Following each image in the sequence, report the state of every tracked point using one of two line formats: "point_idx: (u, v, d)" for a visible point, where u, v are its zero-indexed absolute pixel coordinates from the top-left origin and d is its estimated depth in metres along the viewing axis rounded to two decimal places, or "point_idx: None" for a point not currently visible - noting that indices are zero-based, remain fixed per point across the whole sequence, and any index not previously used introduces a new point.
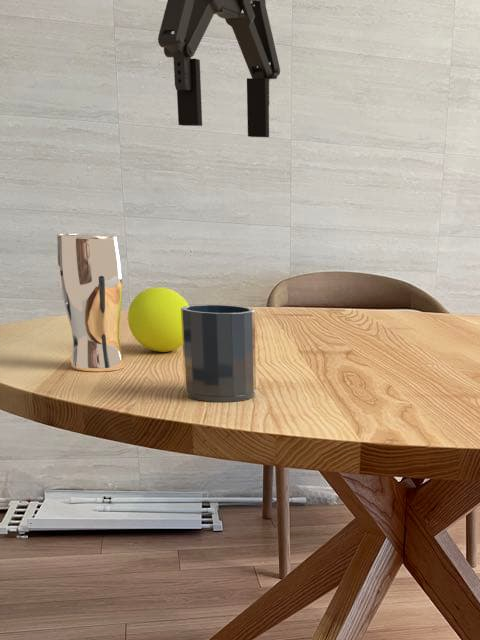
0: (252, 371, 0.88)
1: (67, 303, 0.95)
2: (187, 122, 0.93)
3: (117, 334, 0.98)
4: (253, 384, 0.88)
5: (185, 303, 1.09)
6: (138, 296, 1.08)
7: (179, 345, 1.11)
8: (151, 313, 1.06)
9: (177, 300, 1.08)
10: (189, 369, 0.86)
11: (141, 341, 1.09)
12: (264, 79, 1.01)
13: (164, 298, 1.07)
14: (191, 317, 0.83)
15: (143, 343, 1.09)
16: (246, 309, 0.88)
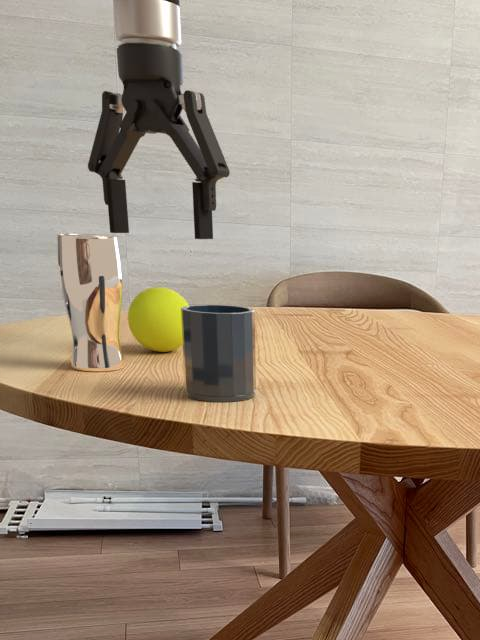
0: (252, 371, 0.88)
1: (67, 303, 0.95)
2: (205, 236, 1.03)
3: (117, 334, 0.98)
4: (253, 384, 0.88)
5: (185, 303, 1.09)
6: (138, 296, 1.08)
7: (179, 345, 1.11)
8: (151, 313, 1.06)
9: (177, 300, 1.08)
10: (189, 369, 0.86)
11: (141, 341, 1.09)
12: (124, 180, 1.07)
13: (164, 298, 1.07)
14: (191, 317, 0.83)
15: (143, 343, 1.09)
16: (246, 309, 0.88)
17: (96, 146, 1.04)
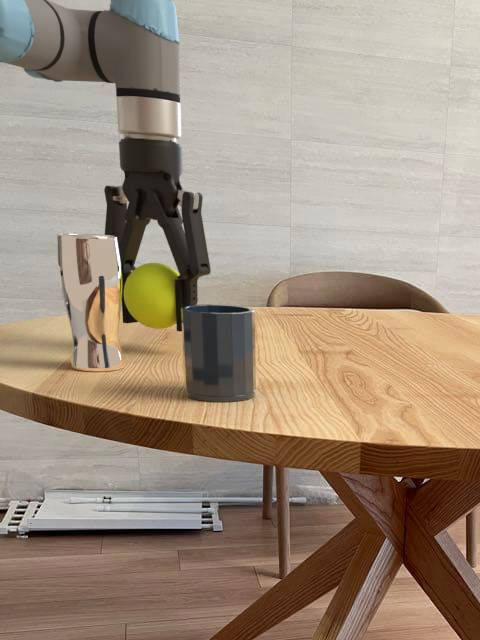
0: (252, 371, 0.88)
1: (67, 303, 0.95)
2: None
3: (117, 334, 0.98)
4: (253, 384, 0.88)
5: None
6: (134, 271, 1.06)
7: (175, 322, 1.09)
8: (147, 288, 1.05)
9: (173, 276, 1.07)
10: (189, 369, 0.86)
11: (136, 317, 1.08)
12: None
13: (161, 273, 1.06)
14: (191, 317, 0.83)
15: (138, 319, 1.08)
16: (246, 309, 0.88)
17: None
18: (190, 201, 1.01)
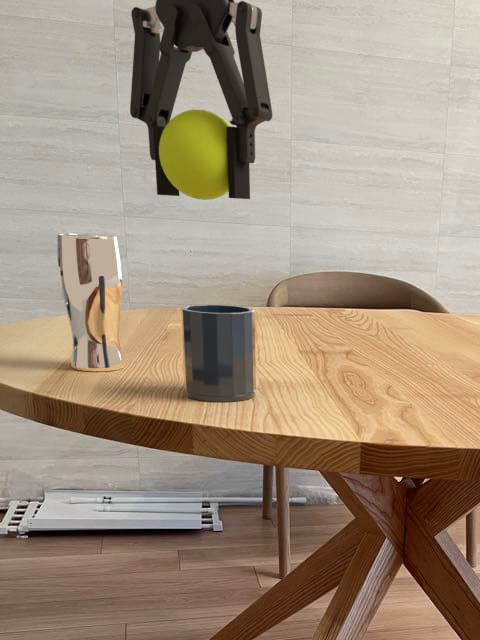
0: (252, 371, 0.88)
1: (67, 303, 0.95)
2: (241, 196, 0.84)
3: (117, 334, 0.98)
4: (253, 384, 0.88)
5: None
6: (173, 119, 0.82)
7: (225, 189, 0.85)
8: (191, 137, 0.80)
9: (223, 124, 0.82)
10: (189, 369, 0.86)
11: (177, 180, 0.83)
12: None
13: (208, 120, 0.81)
14: (191, 317, 0.83)
15: (179, 183, 0.83)
16: (246, 309, 0.88)
17: (135, 83, 0.84)
18: (247, 14, 0.77)
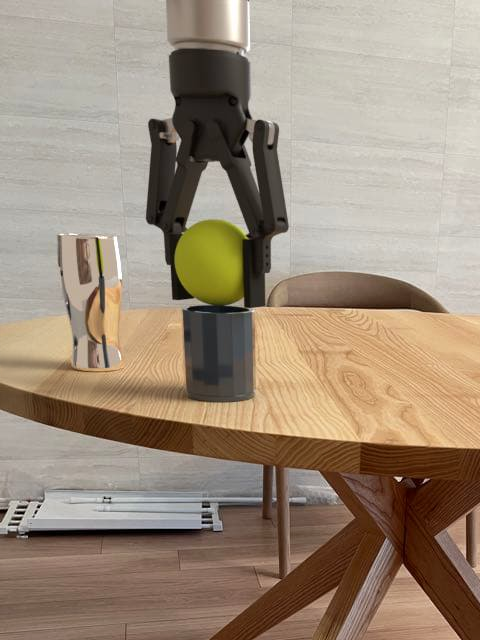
0: (252, 371, 0.88)
1: (67, 303, 0.95)
2: (257, 304, 0.84)
3: (117, 334, 0.98)
4: (253, 384, 0.88)
5: None
6: (189, 230, 0.82)
7: (241, 296, 0.84)
8: (207, 251, 0.80)
9: (240, 235, 0.82)
10: (189, 369, 0.86)
11: (192, 290, 0.83)
12: None
13: (224, 232, 0.81)
14: (191, 317, 0.83)
15: (195, 293, 0.83)
16: (246, 309, 0.88)
17: (151, 191, 0.83)
18: (264, 132, 0.76)
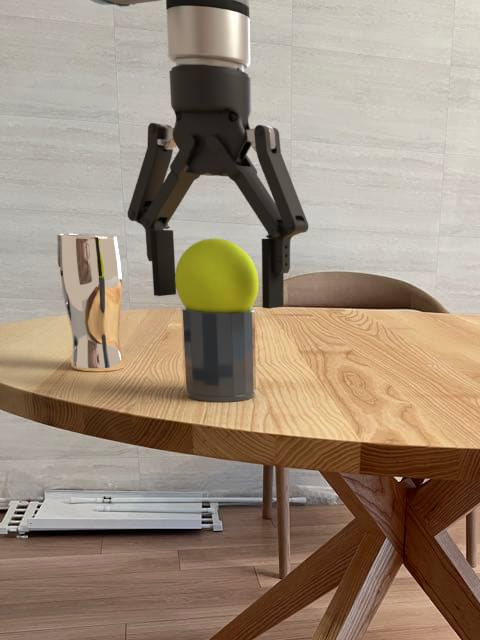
0: (252, 371, 0.88)
1: (67, 303, 0.95)
2: (275, 305, 0.83)
3: (117, 334, 0.98)
4: (253, 384, 0.88)
5: (249, 259, 0.84)
6: (189, 250, 0.82)
7: None
8: (207, 270, 0.81)
9: (239, 254, 0.83)
10: (189, 369, 0.86)
11: (193, 309, 0.83)
12: (172, 231, 0.87)
13: (224, 251, 0.82)
14: (191, 317, 0.83)
15: None
16: None
17: (138, 190, 0.84)
18: (265, 136, 0.77)
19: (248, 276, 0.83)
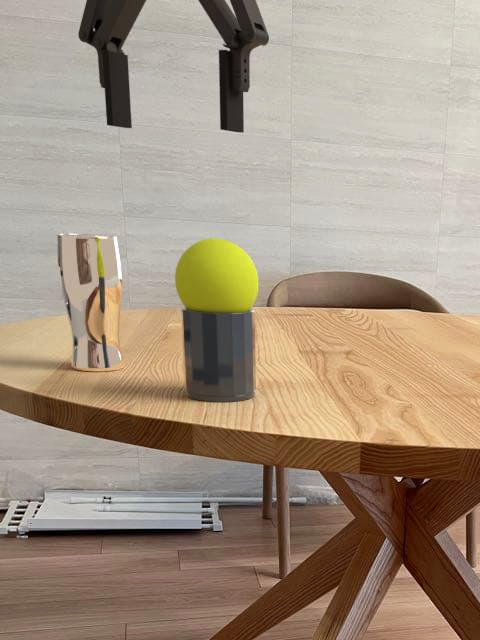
0: (252, 371, 0.88)
1: (67, 303, 0.95)
2: (234, 128, 0.78)
3: (117, 334, 0.98)
4: (253, 384, 0.88)
5: (249, 259, 0.84)
6: (189, 250, 0.82)
7: None
8: (207, 270, 0.81)
9: (239, 254, 0.83)
10: (189, 369, 0.86)
11: (193, 309, 0.83)
12: (126, 56, 0.82)
13: (224, 251, 0.82)
14: (191, 317, 0.83)
15: None
16: None
17: (89, 6, 0.79)
18: None
19: (248, 276, 0.83)
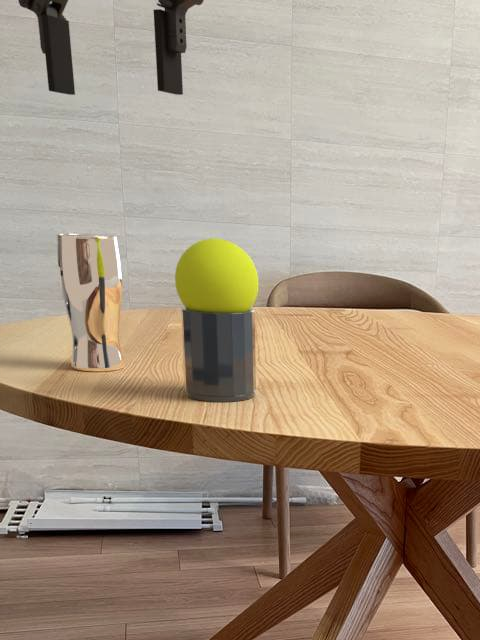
0: (252, 371, 0.88)
1: (67, 303, 0.95)
2: (172, 89, 0.78)
3: (117, 334, 0.98)
4: (253, 384, 0.88)
5: (249, 259, 0.84)
6: (189, 250, 0.82)
7: None
8: (207, 270, 0.81)
9: (239, 254, 0.83)
10: (189, 369, 0.86)
11: (193, 309, 0.83)
12: (67, 22, 0.82)
13: (224, 251, 0.82)
14: (191, 317, 0.83)
15: None
16: None
17: None
18: None
19: (248, 276, 0.83)
